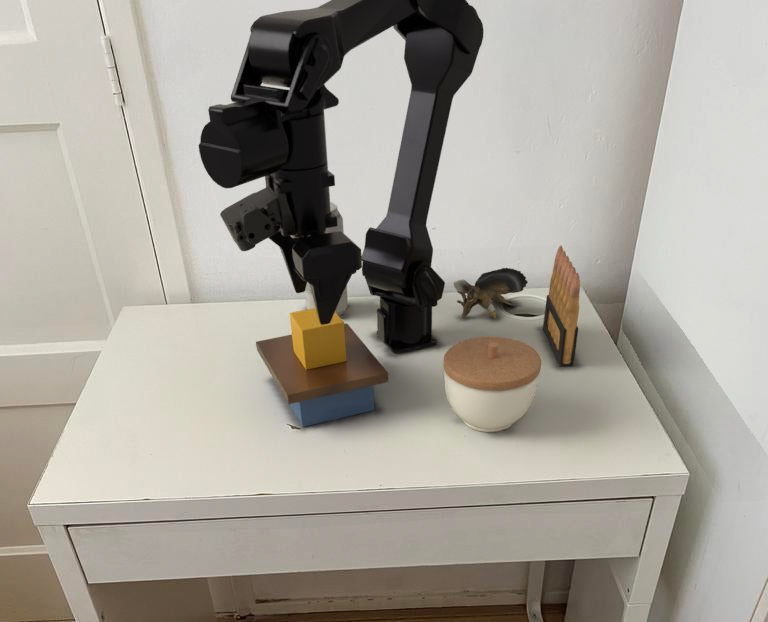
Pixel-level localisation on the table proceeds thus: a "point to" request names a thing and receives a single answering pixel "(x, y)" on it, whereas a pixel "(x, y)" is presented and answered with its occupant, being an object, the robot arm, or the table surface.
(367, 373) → the board
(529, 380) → the trinket box
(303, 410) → the blue box
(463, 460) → the table surface
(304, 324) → the yellow block
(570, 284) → the ammunition clip
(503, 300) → the brown legged piece
